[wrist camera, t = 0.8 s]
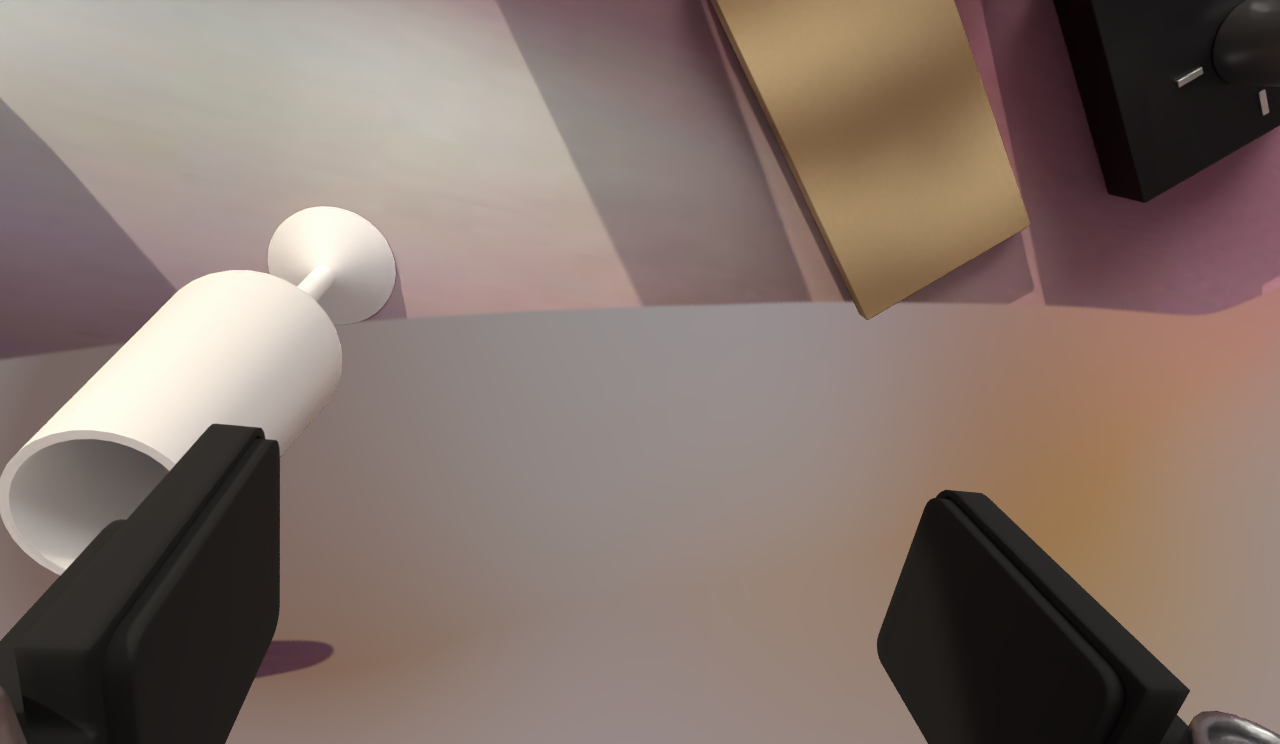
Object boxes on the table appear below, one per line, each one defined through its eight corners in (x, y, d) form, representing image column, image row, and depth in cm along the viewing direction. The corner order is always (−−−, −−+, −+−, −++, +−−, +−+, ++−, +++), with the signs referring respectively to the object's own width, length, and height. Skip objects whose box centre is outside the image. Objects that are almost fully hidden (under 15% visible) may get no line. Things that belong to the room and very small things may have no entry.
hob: (1043, -33, 40) (1083, -40, 37) (1252, -161, 39) (1310, -179, 36) (1108, 194, 45) (1147, 204, 42) (1292, 87, 44) (1345, 89, 41)
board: (692, -36, 37) (697, -39, 36) (886, -162, 36) (897, -168, 35) (859, 314, 46) (867, 320, 45) (1019, 221, 45) (1031, 225, 44)
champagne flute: (381, 339, 43) (225, 637, 21) (257, 306, 41) (-54, 592, 19) (408, 228, 41) (266, 430, 19) (278, 188, 39) (-46, 360, 17)
